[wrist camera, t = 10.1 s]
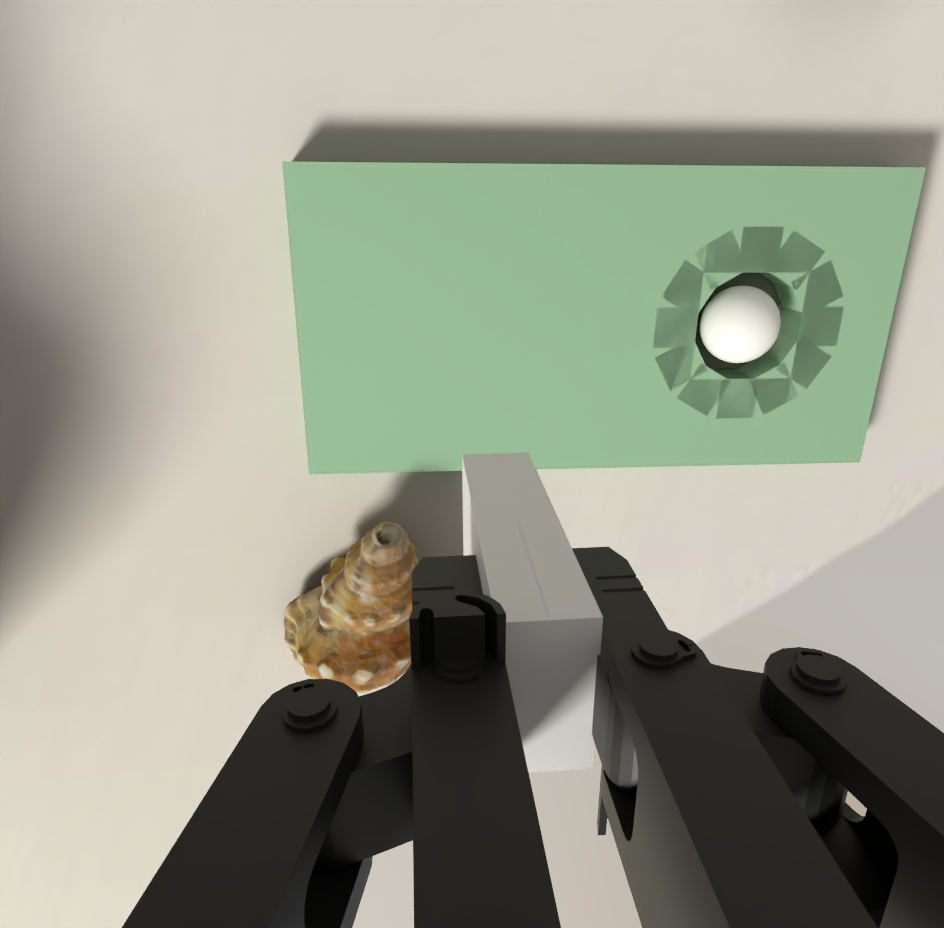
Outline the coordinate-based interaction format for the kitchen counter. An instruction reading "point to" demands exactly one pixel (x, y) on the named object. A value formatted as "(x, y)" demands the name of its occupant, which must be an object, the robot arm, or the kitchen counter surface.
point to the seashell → (358, 613)
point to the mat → (586, 310)
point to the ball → (740, 324)
